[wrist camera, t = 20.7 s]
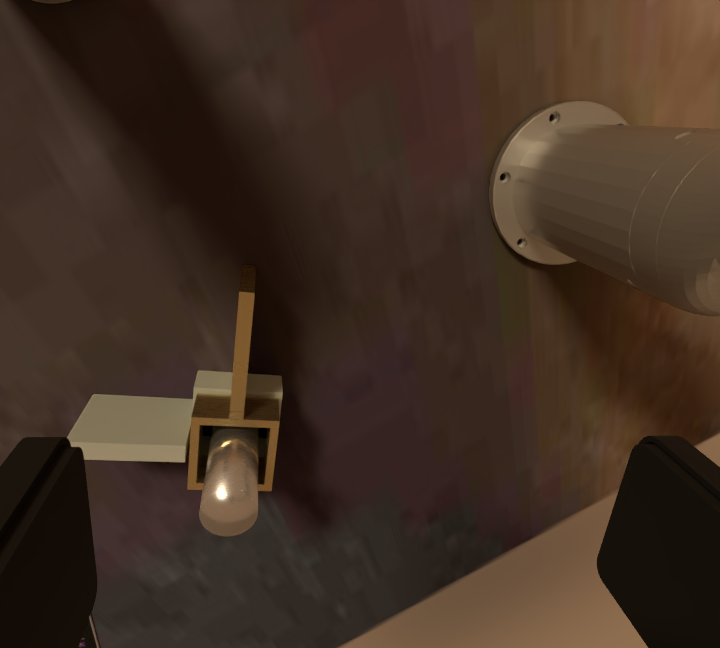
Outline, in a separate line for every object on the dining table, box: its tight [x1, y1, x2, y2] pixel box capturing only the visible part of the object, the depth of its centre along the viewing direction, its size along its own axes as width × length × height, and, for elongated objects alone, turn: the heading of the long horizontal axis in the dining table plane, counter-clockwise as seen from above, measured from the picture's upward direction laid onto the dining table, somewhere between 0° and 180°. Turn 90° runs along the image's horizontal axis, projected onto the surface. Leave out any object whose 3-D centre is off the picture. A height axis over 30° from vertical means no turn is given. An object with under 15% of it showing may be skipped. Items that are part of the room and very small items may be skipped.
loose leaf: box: [67, 370, 283, 462], centre depth 42 cm, size 15×7×7 cm, turn 81°
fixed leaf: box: [187, 265, 280, 491], centre depth 41 cm, size 6×16×7 cm, turn 171°
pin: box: [199, 426, 259, 536], centre depth 40 cm, size 4×4×13 cm
